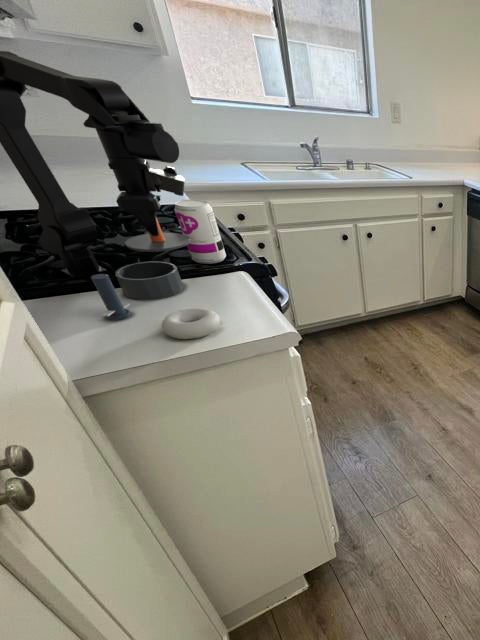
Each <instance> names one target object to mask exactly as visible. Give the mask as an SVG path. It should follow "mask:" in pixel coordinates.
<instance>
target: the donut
mask: <svg viewBox="0 0 480 640" xmlns="http://www.w3.org/2000/svg"><path fill="white" fill-rule="evenodd" d="M220 325H221V318H220V315H218V313H216V312H215V311H214V310H211V309H208V308H204V307H189V308H184V309H179V310H176V311H174V312H171V313H170V314H168V315H166V316H165V318H164V319H163V320H162V322H161V328H162V331H163V332H164V333H165V334H166V335H167V336H168V337H172V338H175V339H180V340H192V339H199V338H203V337H206V336H209V335H211V334H213V333H214V332H216V331H217V330H218V329H219V327H220Z"/></svg>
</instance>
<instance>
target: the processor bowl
mask: <svg viewBox="0 0 480 640" xmlns="http://www.w3.org/2000/svg"><path fill="white" fill-rule="evenodd" d="M114 273H115V277H116V280H117V282H118V283H119V286H120V287H121V290H122V292H123V294H124V296H125V297H127V298H130V299H132V300H137V301H138V300H139V301H151V300H160V299H165V298H169V297H173V296H175V295H177V294H179V293H181V292H182V291H183V290H184V288H185V287H184V284H183V283H184V282H183V281H182V278H181V275H180V272H179V270H178V267H177V265H175V264H173V263H171V262H166V261H153V260H152V261H142V262H141V261H140V262H135V263H131V264H127V265H124V266H122V267H119V268H118V269H117V270H115V272H114Z"/></svg>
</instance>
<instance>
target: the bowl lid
mask: <svg viewBox="0 0 480 640" xmlns="http://www.w3.org/2000/svg"><path fill="white" fill-rule="evenodd" d="M156 221H157V227H158V233H159V235H158V236H152V235H151V234H150V233H149V232H148V231H147V233H145V234H139V235H135V236H131V237H130V238H128V239H127V240H125V242H124V244H125V246H126V247H127V249H128V250H129V249H130V250H132V251H137V252H145V253H146V252H147V253H160V252H161V253H162V252H169V251H175V250H178V249H181V248H184V247H187V245H188V244H189V243H190V242H191V240H190V238H189V237H188V236H186V235H184V234H183V233H177V232H163V230H162V228H161V225H160V222H159V220H158V217H157V218H156Z"/></svg>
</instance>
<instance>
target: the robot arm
mask: <svg viewBox="0 0 480 640" xmlns="http://www.w3.org/2000/svg"><path fill="white" fill-rule="evenodd" d="M27 86H28V87H31V88H34V89H36V90H39V91H42V92H45V93H48V94H50V95H54V96H57V97H59V98H62V99H63V100H67V101H68V103H70V105H71V106H72V107H73V108H75V109H77V110H78V111H81V112H82V113H85V114H86V115H88V117H87V119H85V121H84V122H83V123H82V124H83V126H84V127H85V128H88V129H95V131H96V133H97V137H98V138H99V141H100V143H101V145H102V149H103V150H104V153H105V155H106V158H107V160H108V163H107V165H108V167H109V169H110V170H112V172H113V174H114V177H115V180H116V182H117V188H118V191H119V192H120V193H119V195H118V196H117V197H116V200H115V201H116V204H117V206H118V209H119V211H120V212H128V213H129V214H131V216H132V217H133V218H134V219H136V221H137V222H138V223H140V225H141V226H142V227H144V228H145V230H146V231H147V233H148V232H149V233H150V234H151V235H152V236H158V235H159V233H158V227H157V221H156V218H157V219H158V215H157V211H159V210H160V208H161V202H160V201H161V198H162V196H161V195H157V194H156V195H155V194H154V193H152V192H156V193H161V192H162V191H164V192H168V193H172V194H174V195H176V196H179V197H183V196H184V193H185V183H186V182H185V181H186V180H185V177H183V176H182V175H179V174H178V172H177V170H176V168H175V167H172V166H169V165H165V167H164V168H163V170H162V169H160V168H159V169H156V168H152V167H151V165H150V163H149V161H154V162H160V163H166V164H174V163H176V162H177V160H179V157H180V148H179V144H178V142H177V141H176V140H175V138H174V136H173V135H172V134H170V132H168V131H166V130H165V129H164V125H163V124H162V123H161V122H150V120H149V118H147V117H146V115H145V113H144V112H143V111H141V109H140V108H139V107H138V106H137V105H136V104H135V103H134V102H133V100H132V99H131V98H130V97H129V96H128V95H127V94H126V92H125V91H124V90H123V89H122V86H121V85H120V84H118V83H117V82H115V81H113V80H109V79H102V78H96V77H86V76H78V75H74V74H70V73H67V72H65V71H62V70H59V69H56V68H53V67H50V66H47V65H46V64H45V65H44V64H42V63H38V62H36V61H33V60H30V59H27V58H24V57H22V56H19V55H18V54H15V53H13V52H11V51H7V50H0V145H1V146H2V148H3V149H4V151H5V153H6V154H7V156H8V158H9V159H10V161H11V163H12V164H13V165H14V167H15V169H16V170H17V172H18V173H19V175H20V176H21V178H22V180H23V181H24V183H25V185H26V187H28V190H29V191H30V193H31V194H32V195H33V197H34V199H35V200H36V202H37V204H38V209H37V220H38V222H39V224H40V226H41V228H42V232H41V234H40V236H39V239H38V241H37V243H38V244H39V246H40V247H41V248H42V249H43V251H45V252H47V253H48V252H49V253H55V254H58V256H59V258H60V259H61V261H62V263H63V265H64V267H65V268H63V269H62V268H61V273H63V274H65V275H67V276H69V277H71V278H73V279H81V278H86V277H89V276H93V275H97V274H105V273H107V272H108V270H107V268H104V267H102V266H100V265H99V264H98V262H97V260H96V258H95V256H94V254H93V251H92V250H91V247H90V246H92V245H97V244H99V243H98V230H97V224H96V223H95V222H94V221H93V218H92V217H91V216H90V213H89V211H88V210H87V209H86V208H84V207H82V208H80V207H79V206H77V205H75V203H72V201H70V200H69V199H68V197H67V196H66V193H65V191H64V190H63V188H62V187H61V185H60V183H59V182H58V180H57V178H56V177H55V175H54V173H53V172H52V170H51V168H50V166H49V165H48V163H47V161H46V159H45V157H44V156H43V154H42V153H41V150H40V149H39V148H38V146H37V144H36V142H35V141H34V139H33V137H32V136H31V133H29V131H28V129H27V127H26V120H27V119H26V117H27V109H26V106H25V105H24V102H23V100H22V98H21V97H22V96H23V94H25V92H26V90H27ZM149 233H148V234H149Z"/></svg>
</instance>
